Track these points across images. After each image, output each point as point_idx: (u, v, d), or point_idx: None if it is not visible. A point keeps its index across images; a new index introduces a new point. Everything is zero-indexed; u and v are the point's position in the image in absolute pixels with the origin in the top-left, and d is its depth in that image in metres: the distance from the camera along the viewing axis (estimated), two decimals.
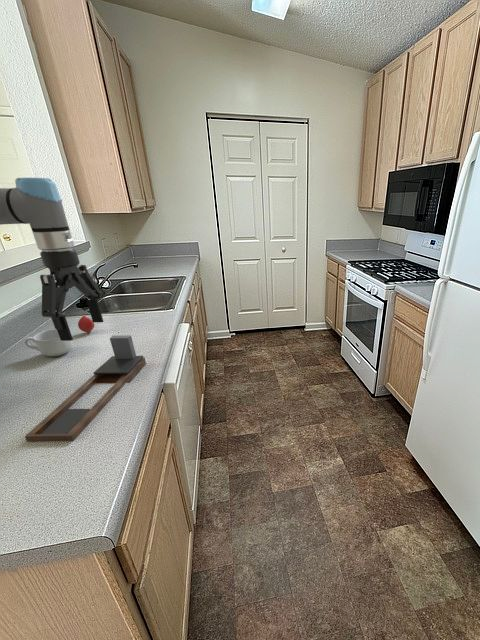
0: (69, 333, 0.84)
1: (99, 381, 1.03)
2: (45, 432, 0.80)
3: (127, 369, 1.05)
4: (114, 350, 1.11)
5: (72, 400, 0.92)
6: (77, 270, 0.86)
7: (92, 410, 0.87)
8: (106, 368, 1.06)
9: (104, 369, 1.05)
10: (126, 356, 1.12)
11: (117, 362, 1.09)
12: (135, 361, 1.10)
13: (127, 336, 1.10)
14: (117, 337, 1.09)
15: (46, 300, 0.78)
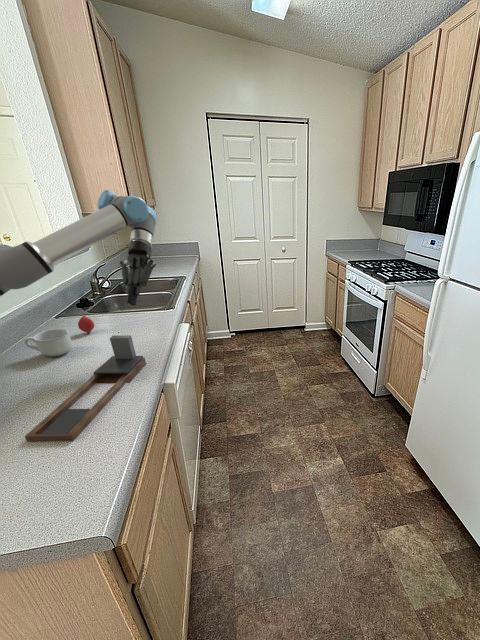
0: None
1: (99, 381, 1.03)
2: (45, 432, 0.80)
3: (127, 369, 1.05)
4: (114, 350, 1.11)
5: (72, 400, 0.92)
6: None
7: (92, 410, 0.87)
8: (106, 368, 1.06)
9: (104, 369, 1.05)
10: (126, 356, 1.12)
11: (117, 362, 1.09)
12: (135, 361, 1.10)
13: (127, 336, 1.10)
14: (117, 337, 1.09)
15: (147, 275, 1.19)
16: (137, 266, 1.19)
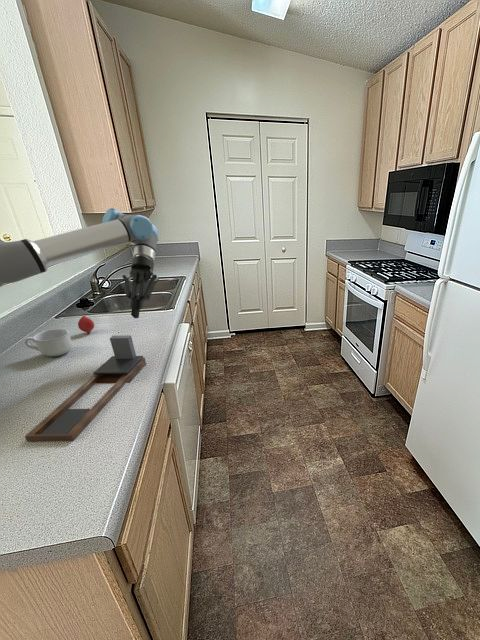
0: None
1: (99, 381, 1.03)
2: (45, 432, 0.80)
3: (127, 369, 1.05)
4: (114, 350, 1.11)
5: (72, 400, 0.92)
6: None
7: (92, 410, 0.87)
8: (106, 368, 1.06)
9: (104, 369, 1.05)
10: (126, 356, 1.12)
11: (117, 362, 1.09)
12: (135, 361, 1.10)
13: (127, 336, 1.10)
14: (117, 337, 1.09)
15: (150, 290, 1.23)
16: (141, 280, 1.22)
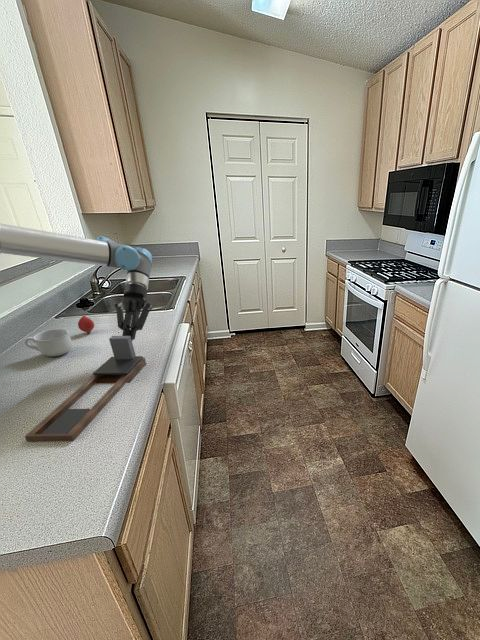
0: None
1: (99, 381, 1.03)
2: (45, 432, 0.80)
3: (127, 370, 1.05)
4: (113, 350, 1.10)
5: (72, 400, 0.92)
6: None
7: (92, 410, 0.87)
8: (105, 368, 1.06)
9: (103, 370, 1.05)
10: (126, 357, 1.11)
11: (117, 363, 1.09)
12: (135, 362, 1.10)
13: (126, 336, 1.10)
14: (116, 337, 1.09)
15: (143, 319, 1.17)
16: (133, 309, 1.17)
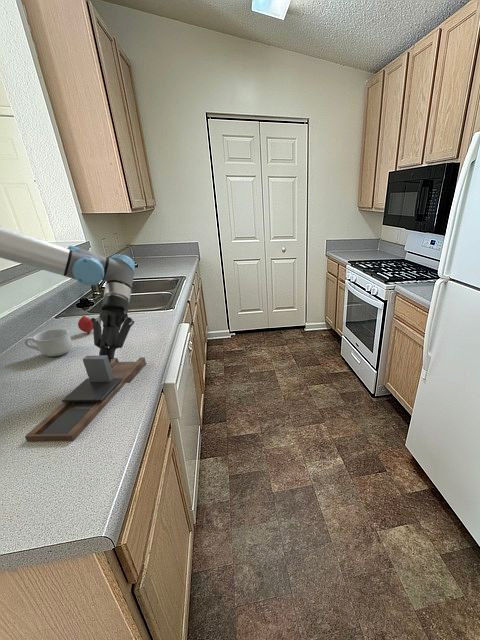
0: None
1: None
2: (45, 432, 0.80)
3: (102, 396, 0.91)
4: (88, 372, 0.97)
5: None
6: None
7: (92, 410, 0.87)
8: (77, 394, 0.92)
9: (74, 396, 0.91)
10: (102, 379, 0.98)
11: (91, 387, 0.95)
12: (112, 385, 0.96)
13: (103, 356, 0.96)
14: (91, 358, 0.95)
15: (124, 336, 1.04)
16: (112, 325, 1.03)
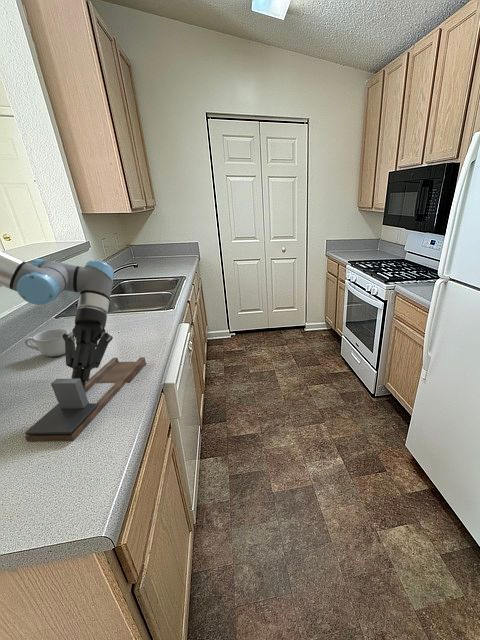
0: None
1: (99, 381, 1.03)
2: None
3: (71, 427, 0.79)
4: (58, 398, 0.84)
5: None
6: None
7: None
8: (44, 424, 0.80)
9: (40, 427, 0.79)
10: (75, 405, 0.85)
11: (61, 415, 0.83)
12: (85, 413, 0.84)
13: (75, 380, 0.84)
14: (61, 382, 0.83)
15: (100, 354, 0.91)
16: (87, 342, 0.91)
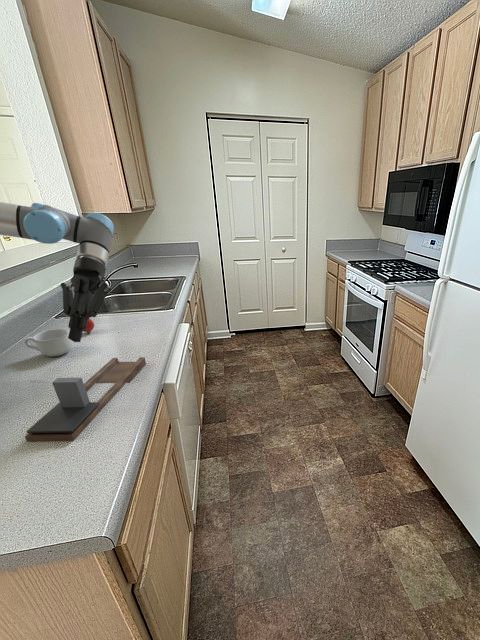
0: None
1: (99, 381, 1.03)
2: None
3: (73, 426, 0.79)
4: (59, 397, 0.85)
5: None
6: None
7: None
8: (45, 423, 0.80)
9: (42, 426, 0.79)
10: (76, 404, 0.86)
11: (62, 414, 0.84)
12: (86, 412, 0.84)
13: (76, 379, 0.84)
14: (62, 381, 0.84)
15: (98, 303, 0.91)
16: (85, 290, 0.90)
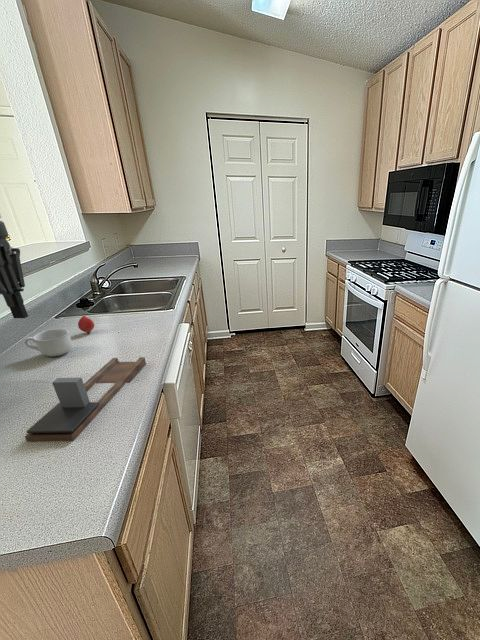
0: (22, 311, 0.86)
1: (99, 381, 1.03)
2: None
3: (73, 426, 0.79)
4: (59, 397, 0.85)
5: None
6: (7, 244, 0.82)
7: None
8: (45, 423, 0.80)
9: (42, 426, 0.79)
10: (76, 404, 0.86)
11: (62, 414, 0.84)
12: (86, 412, 0.84)
13: (76, 379, 0.84)
14: (62, 381, 0.84)
15: None
16: None
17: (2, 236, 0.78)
